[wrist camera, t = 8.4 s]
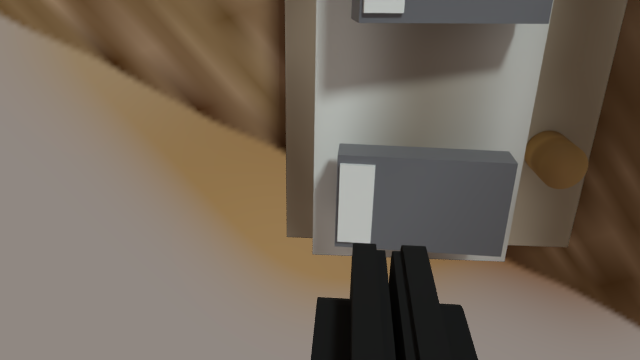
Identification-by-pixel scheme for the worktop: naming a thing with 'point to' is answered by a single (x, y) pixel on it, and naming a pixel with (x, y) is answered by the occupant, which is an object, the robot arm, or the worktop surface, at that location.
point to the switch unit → (447, 105)
